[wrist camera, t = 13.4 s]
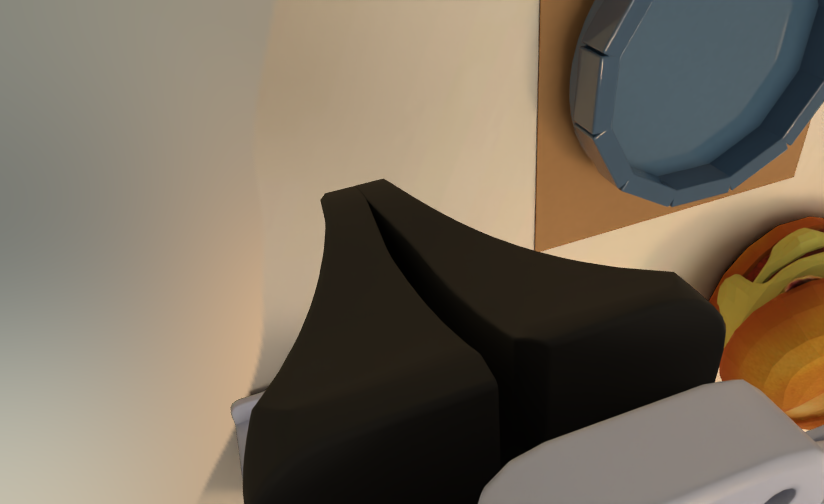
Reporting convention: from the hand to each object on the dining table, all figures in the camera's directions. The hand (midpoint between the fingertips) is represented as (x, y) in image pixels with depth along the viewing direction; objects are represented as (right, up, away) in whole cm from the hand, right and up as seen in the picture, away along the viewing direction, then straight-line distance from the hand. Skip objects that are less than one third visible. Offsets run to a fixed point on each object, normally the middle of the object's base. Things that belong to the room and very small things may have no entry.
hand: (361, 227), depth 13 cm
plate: (+12, +7, +12) cm, 18 cm away
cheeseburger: (+20, -2, +22) cm, 30 cm away
